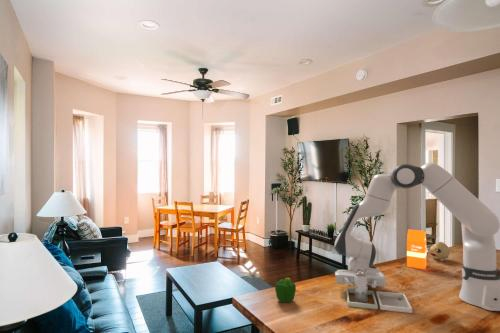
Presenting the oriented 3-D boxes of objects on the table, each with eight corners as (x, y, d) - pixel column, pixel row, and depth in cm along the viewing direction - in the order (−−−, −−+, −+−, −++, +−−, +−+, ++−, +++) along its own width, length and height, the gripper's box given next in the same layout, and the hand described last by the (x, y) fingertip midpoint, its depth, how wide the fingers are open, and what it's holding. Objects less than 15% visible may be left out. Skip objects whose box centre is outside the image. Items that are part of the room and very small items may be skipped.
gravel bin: (404, 300, 129) (404, 293, 129) (412, 316, 115) (412, 308, 115) (376, 298, 132) (375, 291, 132) (380, 313, 118) (380, 305, 118)
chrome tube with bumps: (367, 300, 129) (366, 271, 128) (368, 305, 124) (367, 275, 124) (354, 298, 130) (354, 270, 130) (355, 304, 125) (354, 274, 125)
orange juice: (409, 262, 178) (408, 228, 178) (426, 265, 173) (426, 229, 173) (406, 266, 172) (406, 230, 172) (424, 269, 167) (424, 232, 167)
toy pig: (424, 259, 185) (423, 241, 185) (436, 256, 190) (436, 239, 190) (440, 263, 176) (440, 245, 176) (453, 260, 181) (453, 242, 181)
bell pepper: (271, 298, 132) (271, 275, 132) (288, 295, 136) (288, 272, 136) (281, 306, 125) (281, 281, 125) (299, 302, 128) (298, 278, 128)
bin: (373, 297, 132) (373, 290, 132) (377, 313, 119) (377, 305, 119) (346, 295, 135) (346, 288, 135) (347, 309, 122) (347, 302, 122)
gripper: (334, 264, 142) (334, 274, 129) (382, 268, 137) (387, 279, 123) (334, 278, 142) (334, 290, 129) (382, 282, 137) (387, 295, 123)
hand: (361, 284), depth 126 cm, fingers open, 8 cm apart
